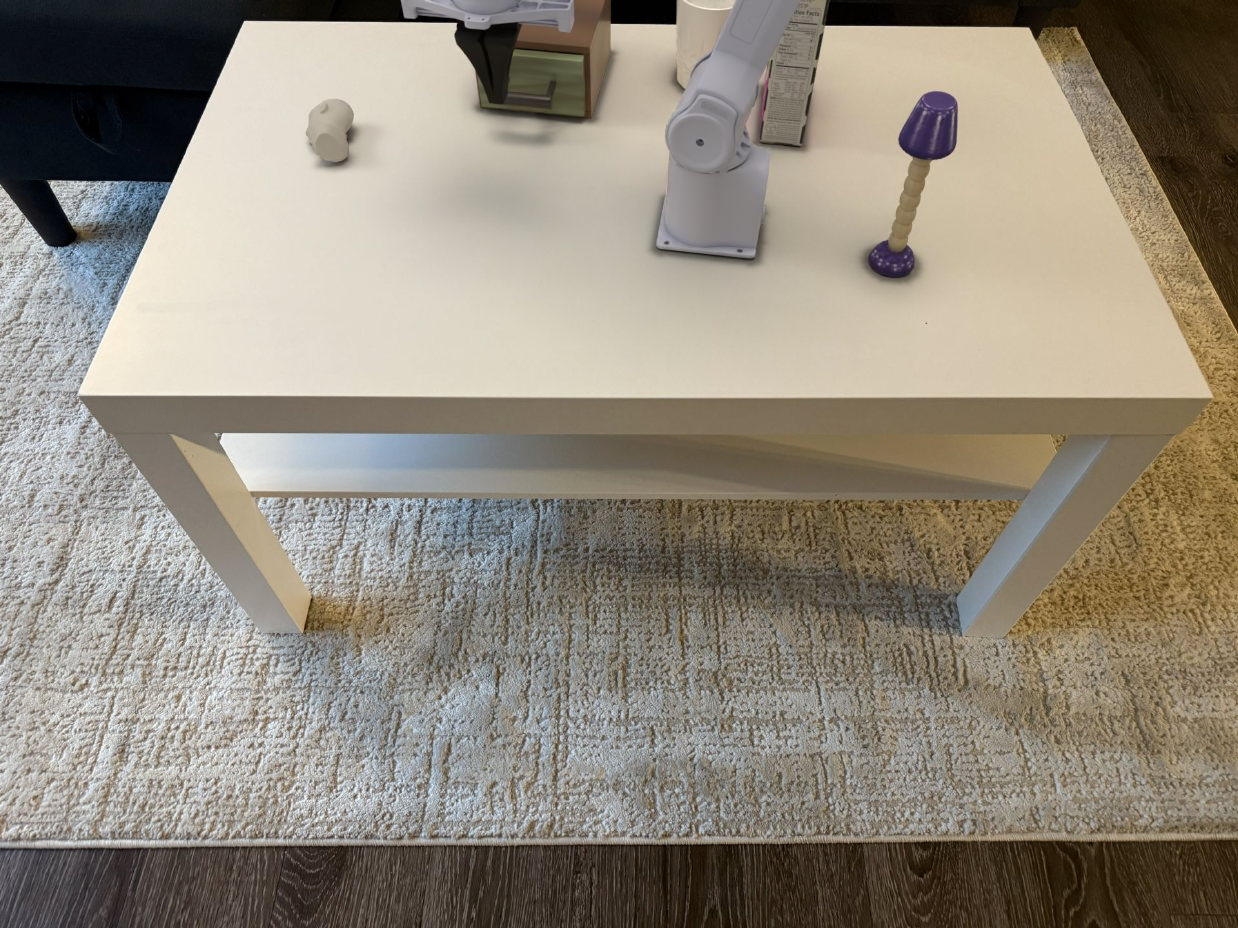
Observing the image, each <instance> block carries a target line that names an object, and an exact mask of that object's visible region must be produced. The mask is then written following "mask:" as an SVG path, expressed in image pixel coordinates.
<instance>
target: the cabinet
mask: <svg viewBox="0 0 1238 928" xmlns="http://www.w3.org/2000/svg"><path fill="white" fill-rule="evenodd" d="M611 20H612V0H574V23H573V27H572V29H571V32H570V33H568V32H560V31H558V27H548V26H536V25H525V24H522V27H521V29H520V32H519V35H518V38H517V41H516V45H515V48H525V49H536V50H547V51H558V52H569V53H580V54H583V55H584V61H585V100H586V111H585V114H584V116H573V115H563V114H553V113H542V112H532V111H522V110H512V109H501V108H491V107H482V104H481V97H480V89H479V82H478V75H477V73H476V71H475V70H474V72H475V79H476V87H477V88H476V89H477V94H478V103H479V108H483V109H492V110H501V111H502V110H503V111H514V112H523V113H532V114H534V113H535V114H544V115H555V116H565V117H575V118H585V119H592V117H593V114H594V111H595V107H596V104H597V101H598V98H599V94H600V90H601V87H602V83H603V80H604V77H605V73H606V70H607V66H608V63H609V59H610V56H611V53H612V46H611V45H612V30H611V29H612V21H611Z"/></svg>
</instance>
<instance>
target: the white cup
mask: <svg viewBox="0 0 1238 928" xmlns="http://www.w3.org/2000/svg"><path fill="white" fill-rule="evenodd" d="M735 1H736V0H676V21H675V22H676V23H675V24H676V25H675V26H676V27H675V33H676V37H675V46H676V48H675V49H676V50H675V51H676V52H675V56H676V62H677V63H676V81H677V83H678V84H679V85H680V86H681V87H682V88H683V89H684V90H685V89H686V87H687V85H688V82H689V80H690V75H691V72H692V70H693V68H694V66H695V64H696V63H697V62H698V61H699V59H700V58H702V57H703V56H704V55H706V54H707V53H709V52H710V51H711V50H712V49H713V48H714V46H715V45H716V43H717V40H718V38H719V36H720V34H721V32H722V29H723V27H724V25H725V23H726V20H727V18H728V16H729V14H730V12H731V9H732V7H733V5H734V3H735Z"/></svg>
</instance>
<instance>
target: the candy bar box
mask: <svg viewBox="0 0 1238 928" xmlns="http://www.w3.org/2000/svg"><path fill="white" fill-rule="evenodd" d="M830 2H831V0H800V2H799V4H798V6H797V8H796V10H795V12H794V14H793V16H792V18H791V20H790V22H789V24H788V25H787V27H786V29H785V31H784V33H783V35H782V37H781V39H780V41H779V43H778V45H777V47H776V49H775V51H774V52H773V54H772V56H771V58H770V60H769V62H768V64H767V66H766V69H765V70H766V71H765V78H764V87H763V93H762V95H763V96H762V104H761V114H760V125H759V139H758V141H759V142H760V143H762V144H768V145H769V144H770V145H783V146H784V145H785V146H792V147H802V146H803V142H804V138H805V133H806V128H807V122H808V117H809V113H810V112H809V111H810V106H811V103H812V102H811V101H812V96H813V91H814V86H815V80H816V76H817V71H818V64H819V60H820V54H821V49H822V43H823V39H824V34H825V27H826V22H827V17H828V12H829V8H830V7H829V6H830Z"/></svg>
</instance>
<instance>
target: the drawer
mask: <svg viewBox="0 0 1238 928" xmlns="http://www.w3.org/2000/svg"><path fill="white" fill-rule="evenodd" d="M478 82H479V89H480V97H481V104H482V107H491V108H490V109H492V108H501V109H500V110H502V109H512V110H522V111H532V112H531V113H533V112H542V113H541V114H543V113H553V114H563V115H562V116H564V115H573V116H572V117H574V116H584V114H585V111H586V100H585V61H584V55H583V54H580V53H569V52H564V54H563V53H552V52H541V51H530V50H519V48H514V52H513V56H512V60H511V65H510V71H509V79H508V94H507V97H506V99H505V102H504V104H502V105H501V104H491V103H489V102H488V99H487V96H486V93H485V90H484V88H483V85H482V83H481V81H480V79H479V77H478ZM512 110H511V111H512ZM522 111H521V112H522ZM553 114H552V115H553Z"/></svg>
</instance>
